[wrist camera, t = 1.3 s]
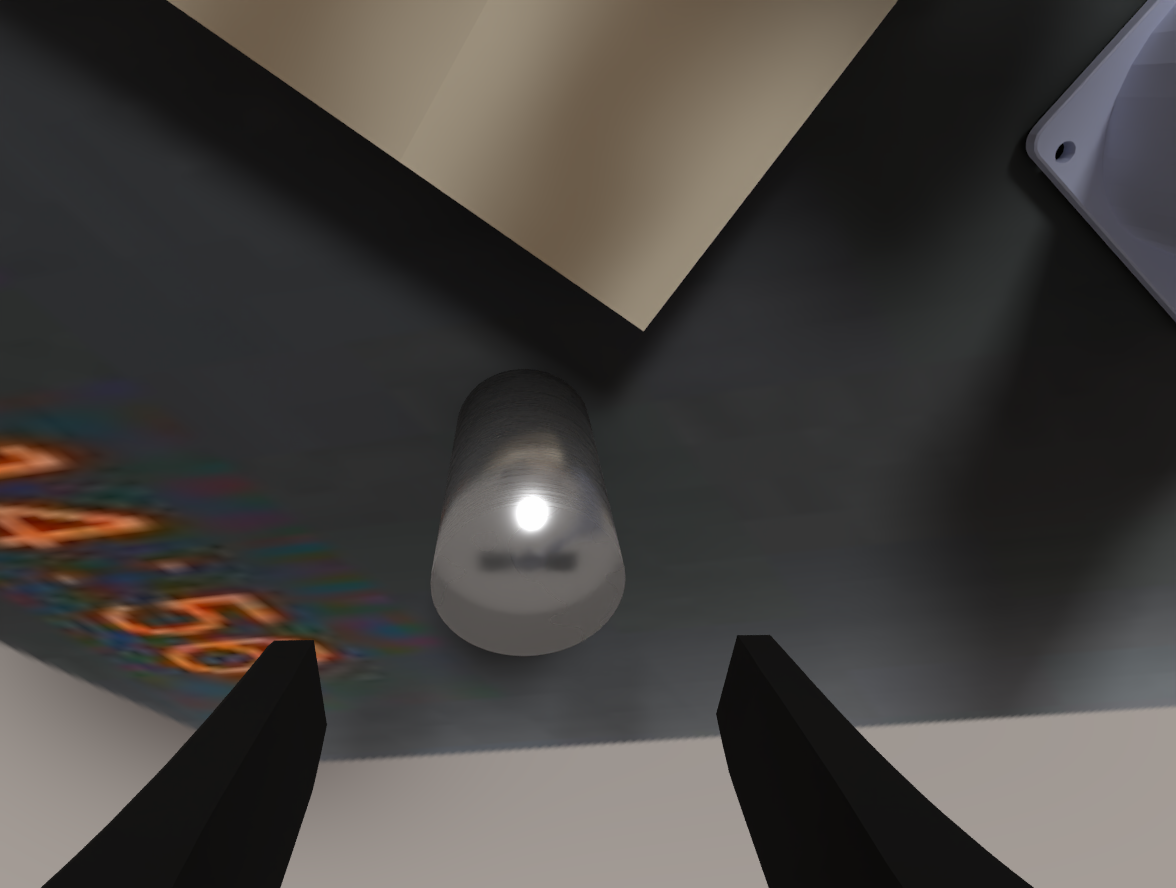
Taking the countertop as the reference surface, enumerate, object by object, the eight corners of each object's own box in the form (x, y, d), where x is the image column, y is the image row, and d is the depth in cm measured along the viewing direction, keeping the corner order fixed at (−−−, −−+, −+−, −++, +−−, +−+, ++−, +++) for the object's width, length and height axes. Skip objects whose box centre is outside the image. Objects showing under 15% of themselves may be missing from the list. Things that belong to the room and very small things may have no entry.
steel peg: (616, 413, 19) (663, 560, 13) (542, 506, 21) (554, 679, 15) (503, 343, 18) (498, 471, 12) (432, 448, 19) (394, 612, 13)
